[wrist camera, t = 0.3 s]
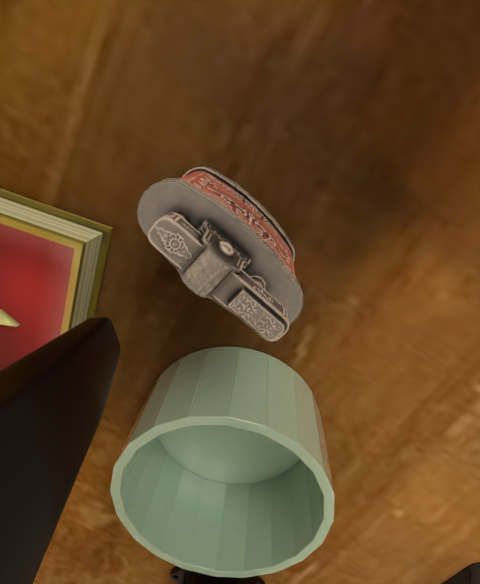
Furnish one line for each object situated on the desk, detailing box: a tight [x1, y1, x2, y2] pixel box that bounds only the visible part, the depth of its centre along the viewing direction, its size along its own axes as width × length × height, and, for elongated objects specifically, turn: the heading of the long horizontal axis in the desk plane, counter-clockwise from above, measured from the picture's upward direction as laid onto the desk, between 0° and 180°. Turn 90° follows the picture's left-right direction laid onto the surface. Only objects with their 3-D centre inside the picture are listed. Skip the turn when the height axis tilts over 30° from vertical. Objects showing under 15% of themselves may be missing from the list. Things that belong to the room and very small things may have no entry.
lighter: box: [137, 166, 303, 342], centre depth 18 cm, size 8×3×10 cm, turn 48°
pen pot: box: [110, 347, 334, 578], centre depth 25 cm, size 13×13×7 cm
